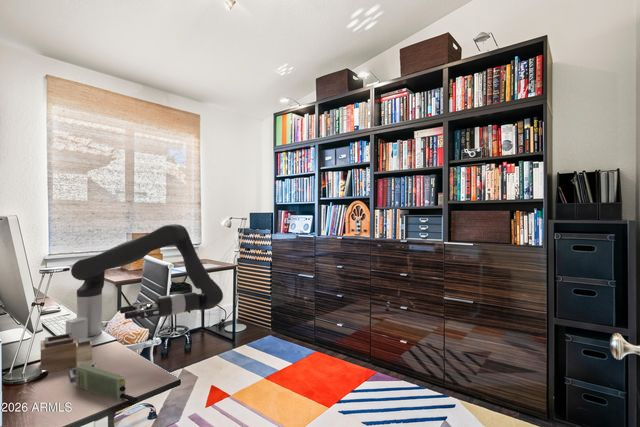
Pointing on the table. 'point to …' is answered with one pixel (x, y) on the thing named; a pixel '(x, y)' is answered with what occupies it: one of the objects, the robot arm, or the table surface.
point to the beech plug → (84, 352)
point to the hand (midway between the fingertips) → (122, 313)
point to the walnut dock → (58, 352)
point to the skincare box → (77, 327)
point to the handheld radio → (102, 382)
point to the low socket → (71, 371)
